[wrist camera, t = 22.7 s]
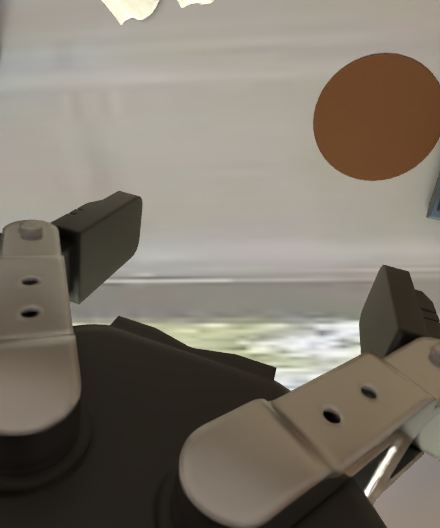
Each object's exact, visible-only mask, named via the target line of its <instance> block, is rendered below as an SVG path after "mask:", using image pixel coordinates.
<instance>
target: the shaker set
mask: <svg viewBox="0 0 440 528" xmlns="http://www.w3.org/2000/svg"><path fill="white" fill-rule="evenodd" d="M102 1H103V2H104V3H105V5H106V6H107V7H108V9H109V10H110V11H111V12H112V14H113V15H114V16H115V17H116V18H117V20H118V21H119V23H120V24H121V25H122V24H123V22H124V21H126V20H128V19H130V18H133V17H134V18H135V19H138V20H143V19H144V18H146V17H148V16H149V15H151V13H152V12H153V11H154V9H155V8H156V6H157V4H158V2H159V1H160V0H102ZM213 1H214V0H178V3H179V4H180V6H181V7H182V8H184V7H186V6H187V5H190V4H194V3H201V4H202V5H205V4H210V3H212V2H213Z"/></svg>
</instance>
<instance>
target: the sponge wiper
mask: <svg viewBox="0 0 440 528" xmlns="http://www.w3.org/2000/svg"><path fill="white" fill-rule="evenodd" d="M426 217H427V218H432V219H436V220H440V175H439V178H438V181H437V184H436V187H435V190H434V194H433V197H432V200H431V203H430V206H429V209H428V213H427V216H426Z"/></svg>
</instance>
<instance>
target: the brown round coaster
mask: <svg viewBox="0 0 440 528" xmlns="http://www.w3.org/2000/svg"><path fill="white" fill-rule="evenodd" d="M313 126H314V135H315V139H316V142H317V145H318V147H319V150H320V152H321V153H322V155H323V156H324V158H325V159H326V160H327V161H328V162H329V164H330V165H332V166H333V167H334V168H335V169H337V170H338V171H340V172H341V173H343V174H345V175H347V176H349V177H353V178H356V179H360V180H369V181H376V180H385V179H390V178H393V177H396V176H399V175H401V174H403V173H405V172H407V171H409V170H411V169H412V168H414V167H415V166H417V165H418V164H419V163H420V162H421V161H423V160H424V158H425V157H426V156H427V155H428V154H429V153H430V152H431V150H432V149H433V148H434V146H435V144H436V143H437V141H438V139H439V137H440V86H439V83H438V82H437V80H436V79H435V77H434V76H433V74H432V73H431V72H430V71H429V70H428V69H427V68H425V67H424V66H423V65H422V64H420V63H418V62H417V61H415V60H413V59H411V58H408V57H405V56H401V55H397V54H376V55H370V56H367V57H363V58H361V59H358V60H356V61H354V62H352V63H350V64H348V65H347V66H345V67H344V68H343V69H341V70H340V71H339V72H338V73H337V74H335V75H334V76H333V77H332V79H331V80H330V81H329V82H328V83H327V85H326V86H325V88H324V89H323V91H322V93H321V95H320V97H319V99H318V102H317V104H316V108H315V112H314V120H313Z"/></svg>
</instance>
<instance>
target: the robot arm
mask: <svg viewBox="0 0 440 528" xmlns="http://www.w3.org/2000/svg"><path fill="white" fill-rule="evenodd" d="M141 215H142V199H141V197H139V196H136V195H132V194H129V193H125V192H121V191H118V192H116V193H114V194H112V195H110V196H109V197H107V198H105V199H103V200H100V201H95V202H90V203H87V204H85V205H83V206H81V207H79V208H78V210H77V209H75V210H74V211H72V212H70V214H66V215H64V216H62V217H60V218H59V219H57V220H55V221H53V222H51V223H49V222H45V221H39V220H22V221H17V222H13V223H10V224H8V225H7V226H5V227H4V228H3V232H2V233H0V528H387V527H386V525H385V524H384V522H383V521H382V519H381V518H380V516H379V515H378V513H377V512H376V510H375V508H374V507H373V504H374V503H375V501H376V500H377V499H378V498H379V496H380V495H381V494H382V493H383V492H384V491H385V490H386V489H387V488H388V487H389V486H390V485H391V484H393V483H394V482H395V481H396V480H397V479H398V478H399V477H400V476H401V475H402V474H403V473H404V472H405V471H406V470H408V468H410V467H411V466H412V465H413V464H414V463H415V462H416V461H417V460H418V459H419V458H420V457H421V456H422V455H423V454H424V453H425V452H426V453H427V454H429V455H431V456H432V457H434V458H436V459H437V460H439V461H440V323H439V322H440V320H439V318H438V315H437V314H436V310H435V307H434V305H433V302H432V301H431V300H430V299H429V298H428V297H427V296H426V295H425V294H424V293H423V292H422V291H418V290H415V289H414V286H413V283H412V280H411V277H410V274H409V272H408V271H405V270H401V269H397V268H394V267H390V266H387V265H383V266H382V267H381V268H380V270H379V272H378V274H377V277H376V279H375V281H374V284H373V286H372V288H371V291H370V293H369V295H368V298H367V300H366V302H365V305H364V307H363V310H362V313H361V317H360V322H359V330H360V345H361V355H359V356H357V357H355V358H353V359H351V360H349V361H348V362H346V363H344V364H342V365H340V366H338V367H336V368H334V369H332V370H330V371H329V372H327V373H325V374H323V375H321V376H319V377H317V378H315V379H313V380H311V381H310V382H308V383H306V384H304V385H302V386H300V387H298V388H296V389H294V390H292V391H290V390H289V389H287V388H286V387H284V386H283V385H281V384H280V383H278V382H276V381H275V380H274V377H275V372H276V368H275V367H272V366H269V365H266V364H263V363H260V362H257V361H254V360H251V359H248V358H245V357H242V356H239V355H236V354H229V353H222V352H216V351H209V350H202V349H195V348H191V347H189V346H187V345H185V344H183V343H182V342H180V341H178V340H176V339H174V338H173V337H171V336H169V335H167V334H165V333H164V332H162V331H160V330H158V329H156V328H154V327H151V326H148V325H145V324H142V323H139V322H136V321H133V320H130V319H127V318H124V317H121V316H118V317H117V318H116V319H115V320H114V322H113V323H112V324H111V325H97V324H92V325H78V326H72V318H71V310H70V302H69V301H71V302H74V303H77V304H80V303H81V302H82V301H83V300H84V299H86V298H87V297H88V296H89V295H90V294H91V293H92V292H93V291H94V290H96V289H97V288H98V287H99V286H100V285H101V284H102V283H103V282H104V281H106V280H107V279H108V278H109V277H110V276H111V275H112V274H113V273H114V272H116V271H117V270H118V269H119V268H120V267H121V266H122V265H123V264H125V263H126V262H127V261H128V260H129V259H130V258H131V257H132V256H133V255H134V253H135V252H136V250H137V247H138V243H139V237H140V226H141Z"/></svg>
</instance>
